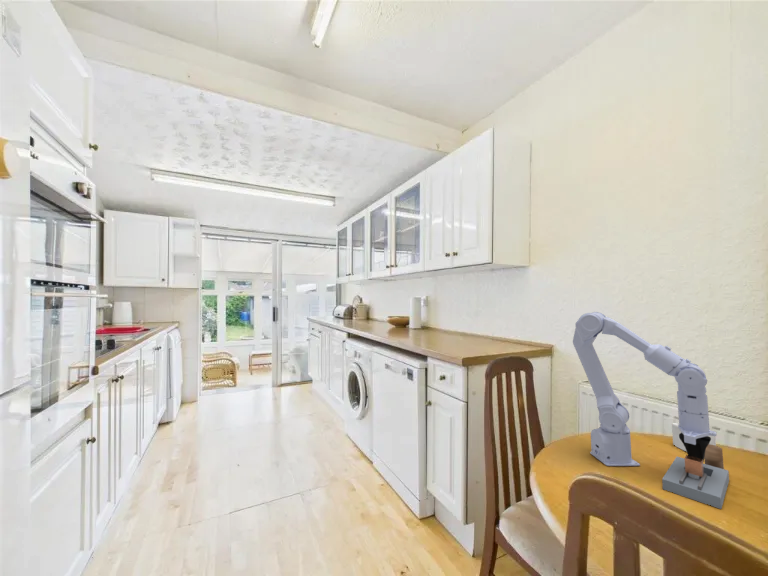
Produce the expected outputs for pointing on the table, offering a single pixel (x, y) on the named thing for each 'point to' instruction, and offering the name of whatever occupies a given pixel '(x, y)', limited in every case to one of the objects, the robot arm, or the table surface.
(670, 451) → the table surface
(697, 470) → the bar
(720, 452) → the brown wooden block
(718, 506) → the mount board
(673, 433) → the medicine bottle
